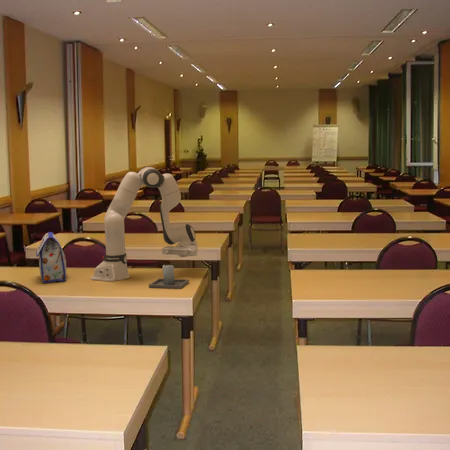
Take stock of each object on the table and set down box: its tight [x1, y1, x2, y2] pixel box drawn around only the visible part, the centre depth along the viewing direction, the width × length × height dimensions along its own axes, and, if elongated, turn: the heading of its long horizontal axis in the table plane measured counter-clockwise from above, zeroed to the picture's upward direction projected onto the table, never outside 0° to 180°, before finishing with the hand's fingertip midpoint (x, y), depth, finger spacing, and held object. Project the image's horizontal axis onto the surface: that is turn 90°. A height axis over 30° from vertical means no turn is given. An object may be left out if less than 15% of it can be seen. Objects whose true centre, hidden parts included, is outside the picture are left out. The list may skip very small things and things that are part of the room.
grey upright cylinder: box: [162, 264, 176, 285], centre depth 351 cm, size 6×6×10 cm
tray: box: [148, 278, 190, 290], centre depth 351 cm, size 18×14×2 cm
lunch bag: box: [35, 231, 67, 284], centre depth 375 cm, size 23×17×27 cm
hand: (175, 253), depth 362 cm, fingers open, 8 cm apart
